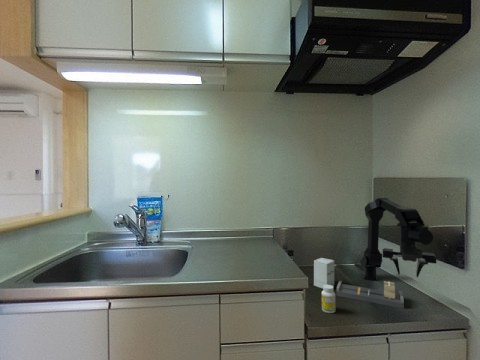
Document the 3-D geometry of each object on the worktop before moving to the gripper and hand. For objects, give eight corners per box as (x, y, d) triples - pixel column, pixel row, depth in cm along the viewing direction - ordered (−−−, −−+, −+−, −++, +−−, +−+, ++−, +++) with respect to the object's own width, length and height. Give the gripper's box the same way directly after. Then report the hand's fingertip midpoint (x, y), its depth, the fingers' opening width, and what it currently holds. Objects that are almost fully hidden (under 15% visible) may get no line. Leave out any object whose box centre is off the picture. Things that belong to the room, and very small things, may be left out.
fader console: (339, 287, 129) (339, 280, 129) (401, 298, 116) (401, 290, 116) (336, 295, 120) (336, 288, 120) (403, 308, 108) (403, 299, 108)
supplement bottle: (335, 314, 103) (334, 290, 103) (320, 312, 106) (320, 288, 105) (335, 308, 108) (335, 284, 108) (322, 305, 111) (322, 283, 110)
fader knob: (383, 292, 118) (383, 280, 118) (394, 294, 116) (394, 282, 116) (384, 297, 113) (384, 285, 113) (394, 298, 111) (394, 286, 111)
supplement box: (327, 290, 126) (326, 263, 126) (313, 285, 131) (313, 260, 131) (335, 285, 131) (334, 260, 131) (321, 281, 136) (321, 257, 136)
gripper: (382, 240, 108) (382, 278, 108) (439, 245, 99) (439, 287, 100) (382, 235, 118) (382, 270, 118) (433, 239, 109) (433, 277, 109)
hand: (408, 275), depth 111 cm, fingers open, 6 cm apart
